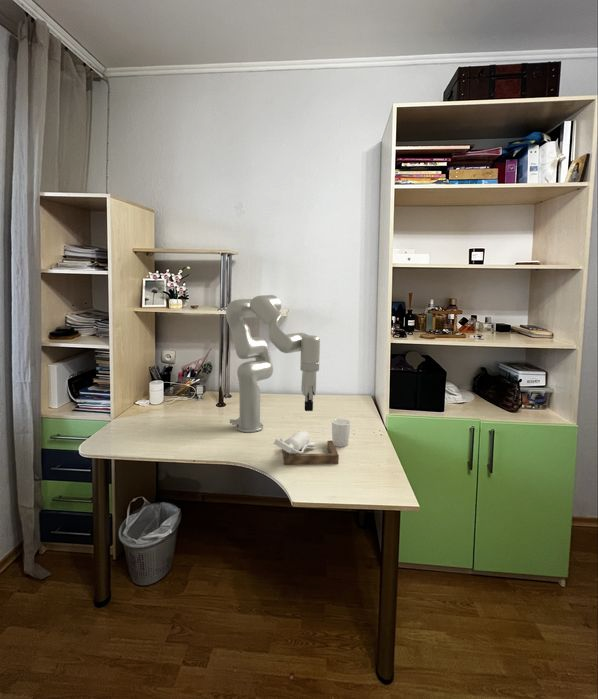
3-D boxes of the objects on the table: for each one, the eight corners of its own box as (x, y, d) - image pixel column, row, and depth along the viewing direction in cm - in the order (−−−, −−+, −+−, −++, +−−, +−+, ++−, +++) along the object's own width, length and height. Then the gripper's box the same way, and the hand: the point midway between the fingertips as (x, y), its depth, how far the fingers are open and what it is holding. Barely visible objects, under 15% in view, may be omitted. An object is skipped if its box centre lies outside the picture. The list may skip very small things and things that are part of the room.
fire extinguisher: (312, 454, 193) (297, 465, 169) (288, 439, 196) (270, 448, 172) (320, 440, 193) (306, 449, 169) (295, 425, 196) (278, 432, 172)
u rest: (284, 464, 176) (284, 456, 175) (281, 449, 190) (282, 441, 190) (338, 463, 178) (338, 455, 177) (331, 448, 192) (332, 440, 192)
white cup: (348, 440, 202) (349, 418, 200) (350, 447, 194) (351, 425, 192) (330, 440, 201) (331, 418, 200) (332, 447, 194) (332, 424, 192)
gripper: (298, 362, 191) (297, 405, 194) (302, 370, 176) (301, 416, 179) (316, 362, 191) (315, 404, 195) (321, 370, 177) (320, 416, 180)
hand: (308, 410), depth 187 cm, fingers closed
